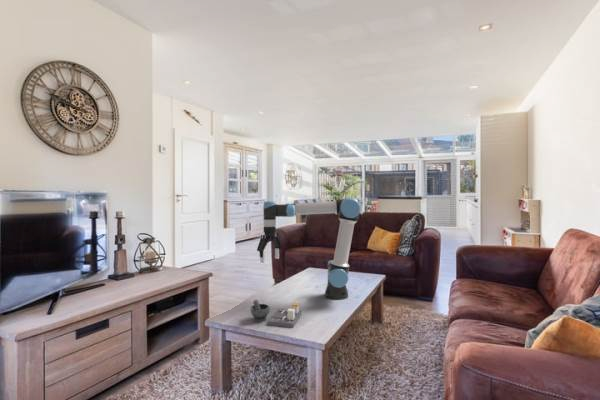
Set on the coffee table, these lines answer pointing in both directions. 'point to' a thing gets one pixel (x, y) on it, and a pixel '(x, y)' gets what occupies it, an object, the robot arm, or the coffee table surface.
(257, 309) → the mortar and pestle
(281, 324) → the console
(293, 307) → the fader
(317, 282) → the coffee table surface
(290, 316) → the fader
